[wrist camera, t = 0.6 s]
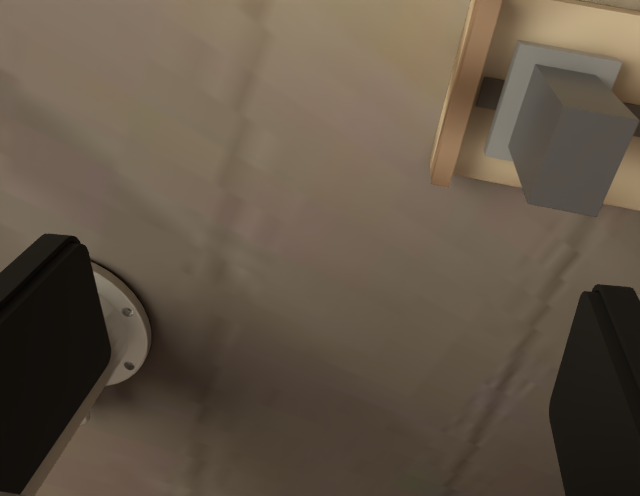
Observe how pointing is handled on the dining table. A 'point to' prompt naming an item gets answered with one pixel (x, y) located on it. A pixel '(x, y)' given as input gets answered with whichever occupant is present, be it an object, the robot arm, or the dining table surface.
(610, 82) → the fader knob
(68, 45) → the dining table surface
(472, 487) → the dining table surface
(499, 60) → the fader track
